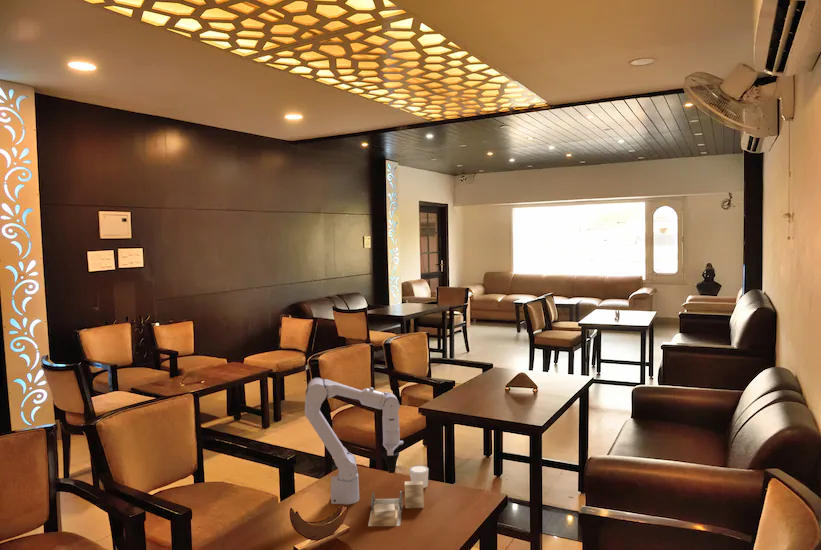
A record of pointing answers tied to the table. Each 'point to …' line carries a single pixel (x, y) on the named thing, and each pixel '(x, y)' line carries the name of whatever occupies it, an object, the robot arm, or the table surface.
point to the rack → (396, 502)
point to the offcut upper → (384, 511)
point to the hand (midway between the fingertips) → (392, 467)
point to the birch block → (414, 494)
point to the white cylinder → (419, 474)
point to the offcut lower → (384, 519)
